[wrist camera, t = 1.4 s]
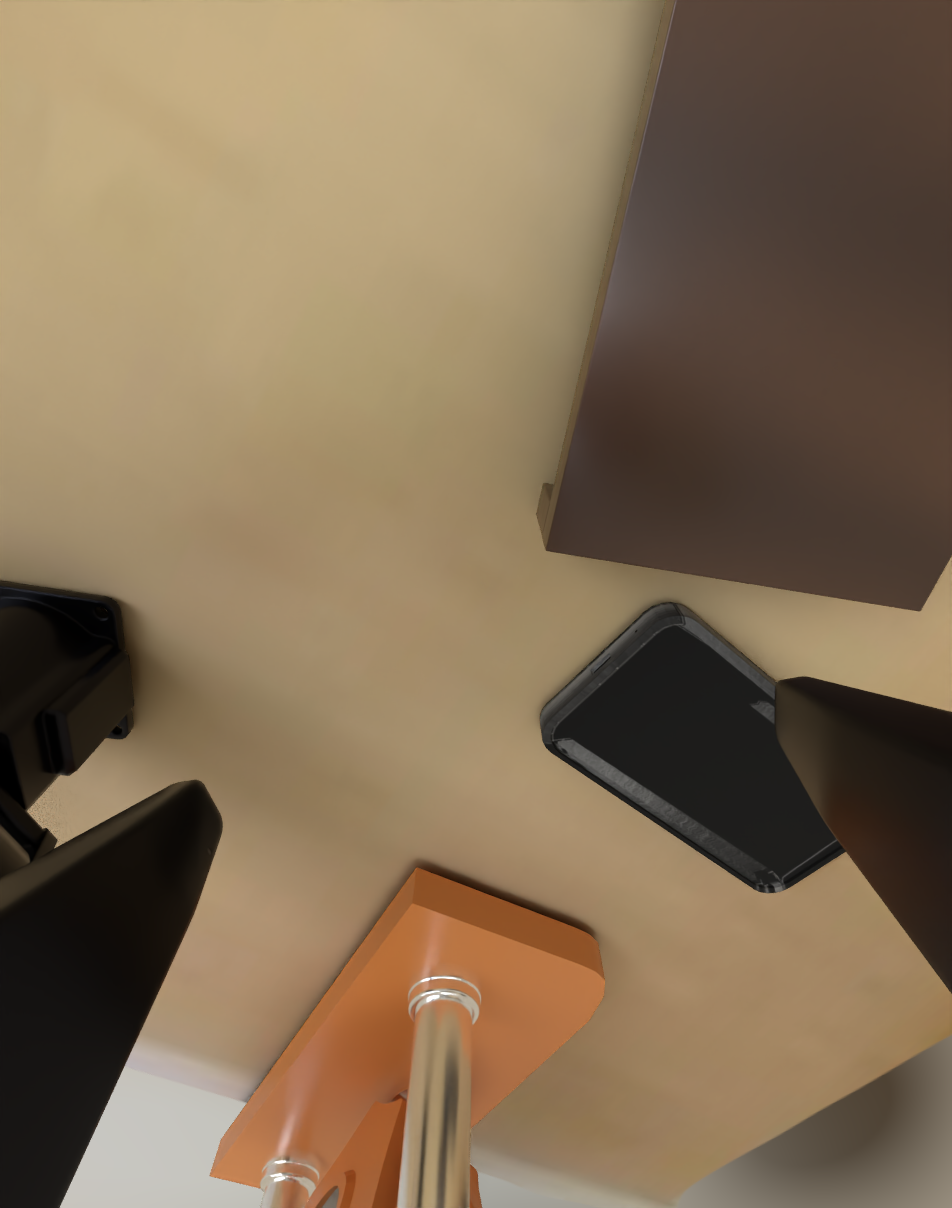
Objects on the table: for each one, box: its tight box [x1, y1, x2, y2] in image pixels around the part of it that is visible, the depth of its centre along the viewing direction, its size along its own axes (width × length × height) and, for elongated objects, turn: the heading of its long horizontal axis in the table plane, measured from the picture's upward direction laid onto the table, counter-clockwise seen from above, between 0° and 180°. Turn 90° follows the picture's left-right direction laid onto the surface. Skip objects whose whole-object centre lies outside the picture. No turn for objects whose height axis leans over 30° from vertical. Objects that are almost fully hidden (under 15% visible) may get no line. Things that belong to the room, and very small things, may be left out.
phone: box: [540, 602, 846, 893], centre depth 25 cm, size 8×1×15 cm
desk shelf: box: [536, 0, 952, 611], centre depth 16 cm, size 18×12×4 cm, turn 170°
